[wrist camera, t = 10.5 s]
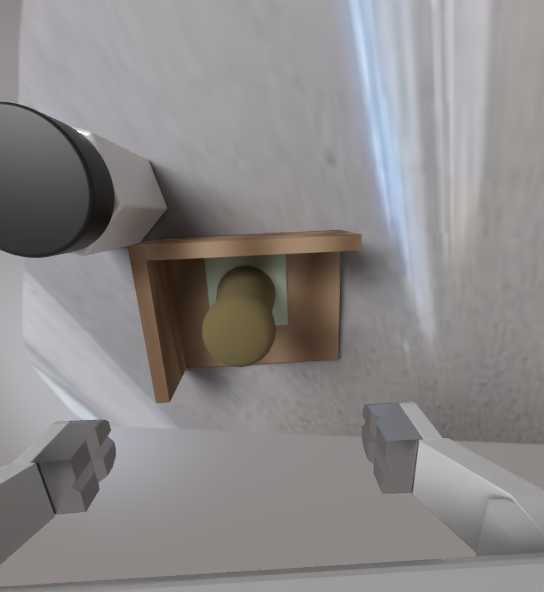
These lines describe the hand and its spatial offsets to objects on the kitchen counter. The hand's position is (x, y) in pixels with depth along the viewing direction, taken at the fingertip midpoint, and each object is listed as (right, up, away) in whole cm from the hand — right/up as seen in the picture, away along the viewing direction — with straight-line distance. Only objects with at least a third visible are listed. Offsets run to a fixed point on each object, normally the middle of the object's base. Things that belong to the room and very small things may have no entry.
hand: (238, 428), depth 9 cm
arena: (-1, +4, +21) cm, 22 cm away
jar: (-13, +14, +18) cm, 26 cm away
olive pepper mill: (-2, +4, +20) cm, 21 cm away
